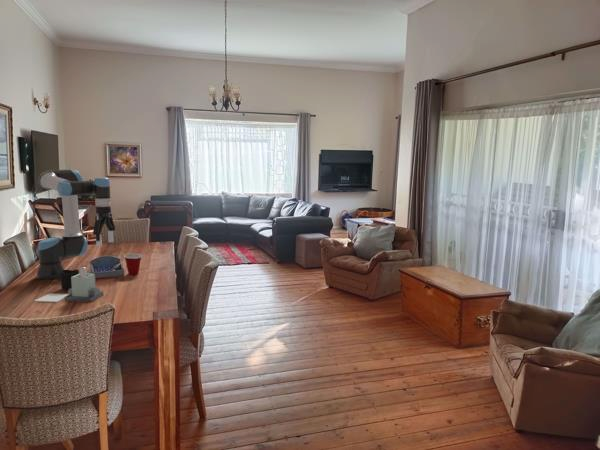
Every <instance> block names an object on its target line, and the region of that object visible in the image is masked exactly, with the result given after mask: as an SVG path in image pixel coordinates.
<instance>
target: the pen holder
mask: <svg viewBox="0 0 600 450" xmlns="http://www.w3.org/2000/svg"><path fill="white" fill-rule="evenodd" d="M79 273H80V269H74V270H73V269H72V270H71V269H64V270H62V271H60V278H59V279H60V286H61V290H63V291H68V289H70V288H72V283H71V277H72V276H75V275H77V274H79Z"/></svg>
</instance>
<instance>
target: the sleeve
mask: <svg viewBox="0 0 600 450" xmlns="http://www.w3.org/2000/svg"><path fill="white" fill-rule="evenodd" d="M71 283H72V296H82V297H88V296H90V295H91V290H92V289H94V288H96V273H89V272H86V277H80V272H79V274H77V275H75V276H72V277H71Z"/></svg>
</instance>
